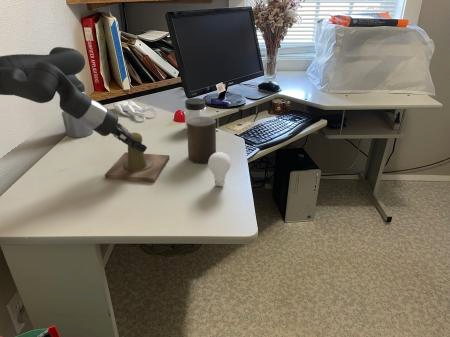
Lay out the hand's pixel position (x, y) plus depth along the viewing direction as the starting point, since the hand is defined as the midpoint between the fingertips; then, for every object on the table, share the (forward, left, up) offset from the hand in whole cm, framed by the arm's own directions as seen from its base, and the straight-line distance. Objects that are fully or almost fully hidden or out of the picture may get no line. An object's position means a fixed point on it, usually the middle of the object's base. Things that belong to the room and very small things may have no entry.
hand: (140, 145), depth 110 cm
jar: (+10, +36, -8) cm, 38 cm away
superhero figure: (-24, +50, -9) cm, 56 cm away
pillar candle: (+18, +10, -8) cm, 22 cm away
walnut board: (-1, -1, -8) cm, 8 cm away
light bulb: (+27, -8, -8) cm, 29 cm away
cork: (-1, -2, -7) cm, 7 cm away
